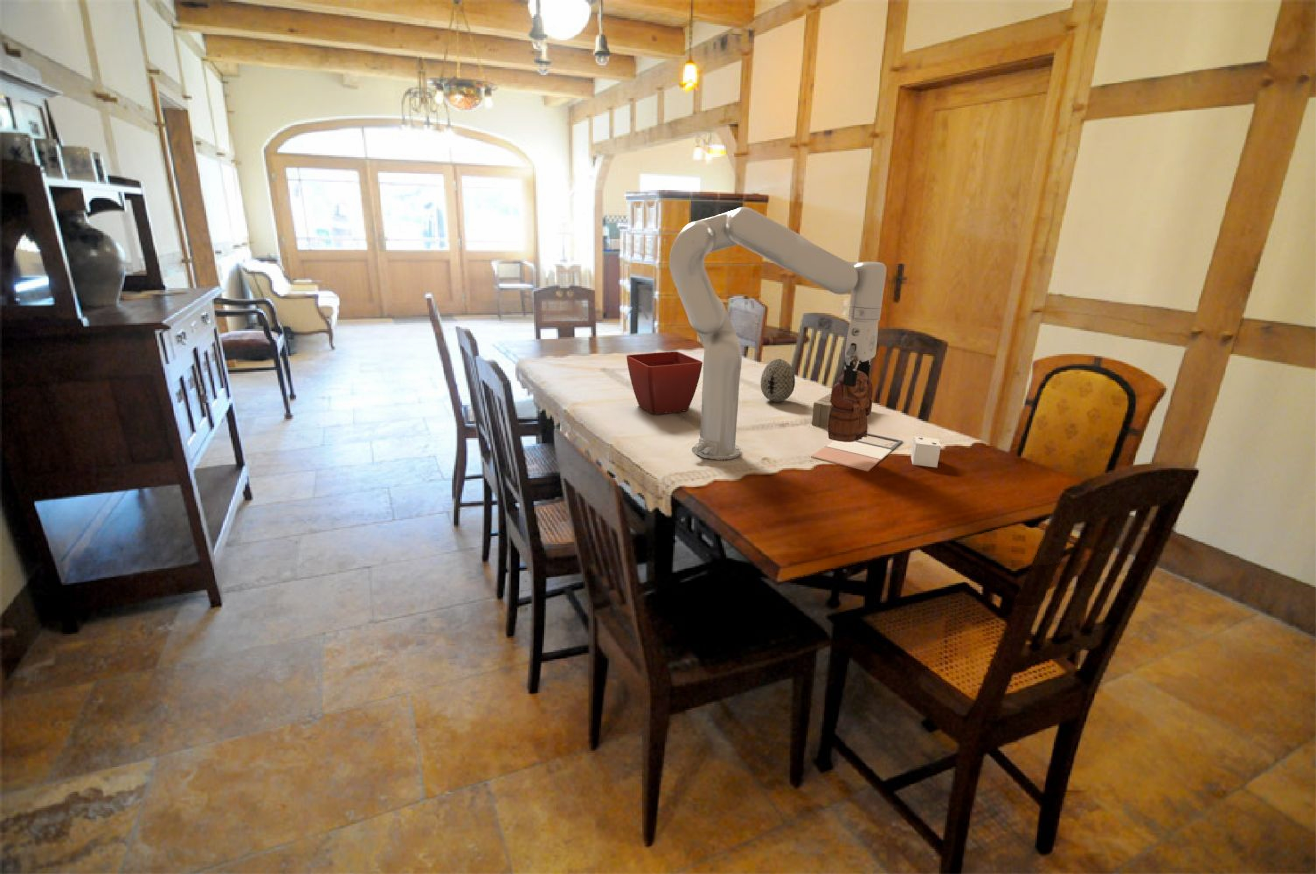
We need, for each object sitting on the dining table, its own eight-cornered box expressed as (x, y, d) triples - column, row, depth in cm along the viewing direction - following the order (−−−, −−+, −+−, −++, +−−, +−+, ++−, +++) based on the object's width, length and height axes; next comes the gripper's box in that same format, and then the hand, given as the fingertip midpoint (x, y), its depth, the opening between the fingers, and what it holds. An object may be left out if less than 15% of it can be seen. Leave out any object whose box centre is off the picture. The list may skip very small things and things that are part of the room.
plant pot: (624, 403, 214) (625, 354, 208) (675, 398, 221) (677, 350, 216) (647, 419, 197) (648, 366, 192) (701, 413, 205) (704, 362, 199)
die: (936, 467, 165) (941, 445, 163) (912, 464, 166) (916, 443, 164) (934, 459, 170) (938, 438, 168) (910, 457, 172) (914, 436, 170)
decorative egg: (797, 400, 222) (802, 358, 217) (785, 408, 213) (789, 364, 208) (766, 395, 228) (770, 354, 223) (753, 402, 219) (757, 359, 214)
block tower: (834, 433, 193) (866, 409, 215) (837, 407, 190) (869, 385, 212) (810, 428, 197) (843, 404, 219) (812, 402, 194) (846, 381, 216)
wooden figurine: (842, 444, 161) (851, 375, 155) (823, 437, 166) (831, 370, 160) (872, 437, 167) (882, 371, 161) (853, 431, 172) (861, 366, 166)
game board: (867, 471, 161) (867, 470, 160) (810, 457, 169) (811, 455, 169) (902, 442, 183) (902, 440, 183) (850, 430, 192) (851, 429, 191)
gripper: (867, 319, 147) (857, 391, 153) (890, 311, 160) (881, 378, 166) (836, 315, 151) (828, 386, 157) (861, 308, 164) (853, 374, 170)
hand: (855, 382), depth 161 cm, fingers closed on wooden figurine, 8 cm apart
